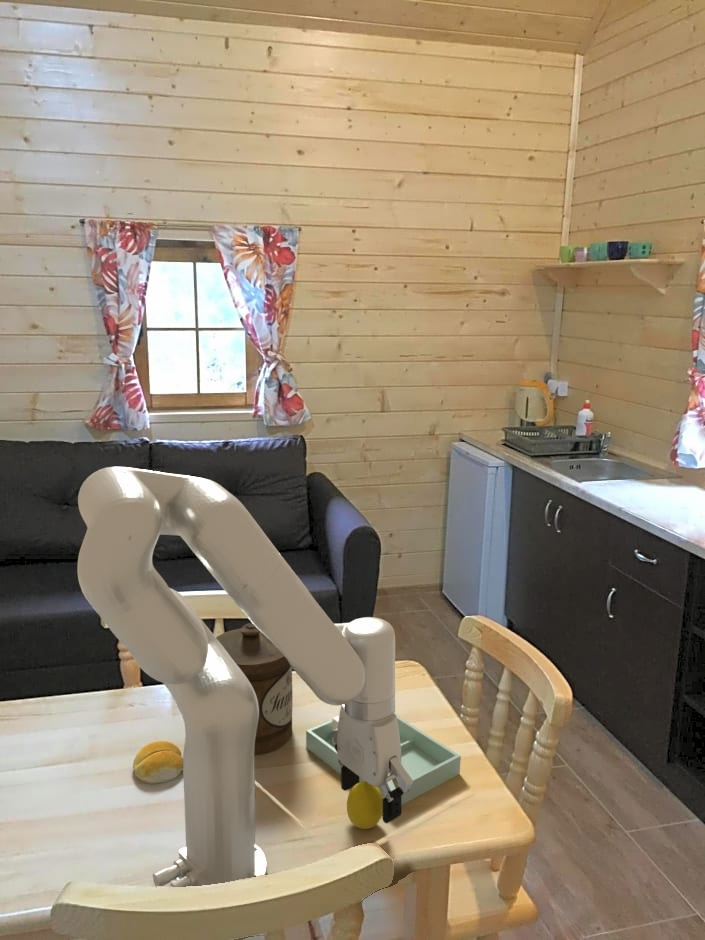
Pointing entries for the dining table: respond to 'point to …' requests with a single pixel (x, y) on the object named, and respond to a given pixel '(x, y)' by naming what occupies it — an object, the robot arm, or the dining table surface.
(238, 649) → the wooden container
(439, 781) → the tray
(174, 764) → the bread roll
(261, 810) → the dining table surface
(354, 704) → the robot arm
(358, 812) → the lemon
